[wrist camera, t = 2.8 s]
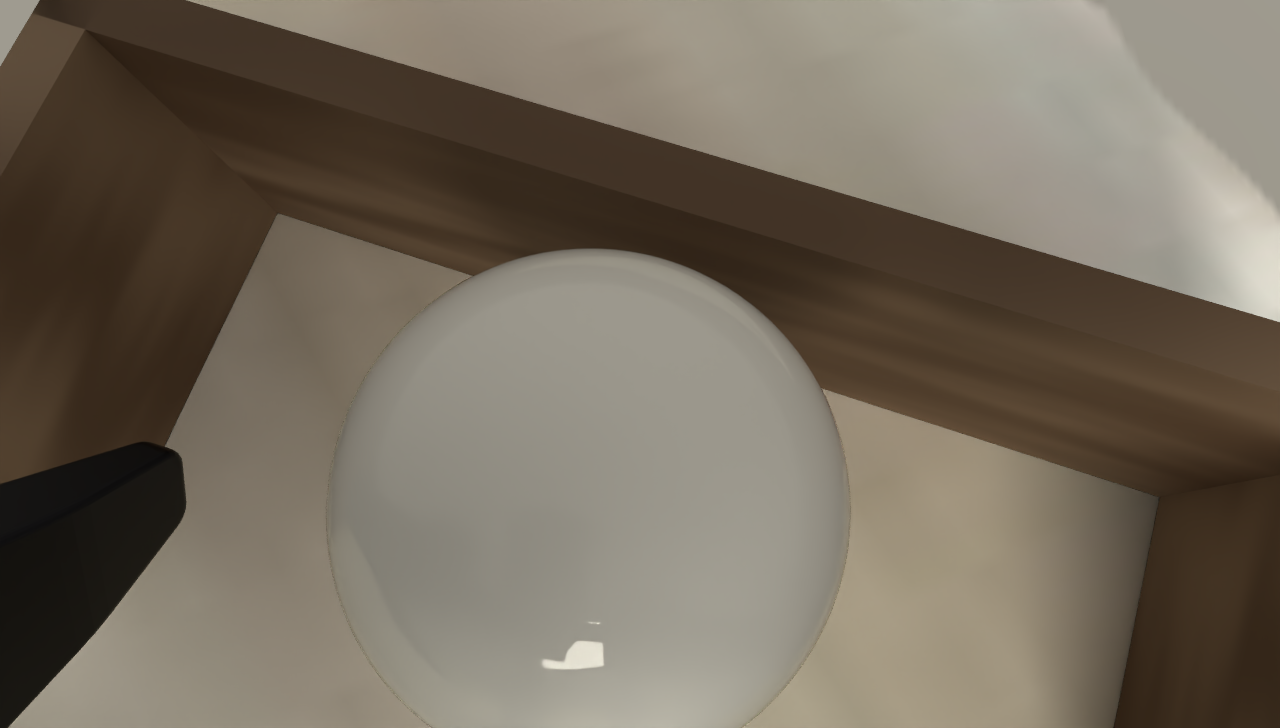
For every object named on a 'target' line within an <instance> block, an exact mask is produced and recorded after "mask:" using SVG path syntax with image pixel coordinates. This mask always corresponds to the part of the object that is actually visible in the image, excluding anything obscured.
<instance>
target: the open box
mask: <svg viewBox="0 0 1280 728" xmlns="http://www.w3.org/2000/svg"><path fill="white" fill-rule="evenodd" d="M277 213H280V214H283V215H286V216H289V217H292V218H296V219H299V220H302V221H305V222H308V223H311V224H314V225H317V226H320V227H323V228H327V229H330V230H333V231H336V232H339V233H342V234H345V235H348V236H351V237H354V238H358V239H361V240H364V241H367V242H370V243H373V244H376V245H379V246H382V247H385V248H389V249H392V250H395V251H398V252H401V253H404V254H407V255H410V256H413V257H416V258H420V259H423V260H426V261H429V262H432V263H435V264H438V265H441V266H444V267H448V268H451V269H454V270H457V271H460V272H463V273H466V274H469V275H472V276H474V275H477V274H479V273H481V272H483V271H485V270H487V269H490V268H492V267H494V266H497V265H500V264H502V263H505V262H508V261H511V260H515V259H518V258H521V257H525V256H529V255H533V254H538V253H543V252H549V251H556V250H565V249H578V248H603V249H616V250H625V251H632V252H638V253H643V254H647V255H652V256H656V257H659V258H663V259H666V260H669V261H673V262H676V263H678V264H681V265H684V266H686V267H689V268H691V269H693V270H696V271H698V272H700V273H702V274H704V275H706V276H708V277H710V278H712V279H714V280H716V281H718V282H720V283H721V284H723V285H725V286H726V287H728V288H730V289H731V290H733V291H734V292H736V293H737V294H739V295H740V296H741V297H743V298H744V299H746V300H747V301H748V302H750V303H751V304H752V305H753V306H755V307H756V308H757V309H758V310H759V311H761V312H762V313H763V314H764V315H765V316H766V317H767V318H768V319H769V320H770V321H772V322H773V323H774V324H775V325H776V326H777V327H778V329H779V330H780V331H781V332H782V333H783V334H784V335H785V336H786V337H787V338H788V340H789V341H790V342H791V343H792V344H793V346H794V347H795V348H796V350H797V351H798V352H799V353H800V355H801V356H802V358H803V359H804V361H805V362H806V363H807V365H808V367H809V368H810V370H811V371H812V373H813V375H814V376H815V378H816V380H817V382H818V383H819V385H820V387H821V388H823V389H826V390H829V391H832V392H835V393H838V394H841V395H845V396H848V397H851V398H854V399H857V400H860V401H863V402H866V403H869V404H872V405H876V406H879V407H882V408H885V409H888V410H891V411H894V412H897V413H900V414H903V415H907V416H910V417H913V418H916V419H919V420H922V421H925V422H928V423H931V424H935V425H938V426H941V427H944V428H947V429H950V430H953V431H956V432H959V433H962V434H966V435H969V436H972V437H975V438H978V439H981V440H984V441H987V442H990V443H993V444H997V445H1000V446H1003V447H1006V448H1009V449H1012V450H1015V451H1018V452H1021V453H1024V454H1028V455H1031V456H1034V457H1037V458H1040V459H1043V460H1046V461H1049V462H1052V463H1055V464H1059V465H1062V466H1065V467H1068V468H1071V469H1074V470H1077V471H1080V472H1083V473H1086V474H1090V475H1093V476H1096V477H1099V478H1102V479H1105V480H1108V481H1111V482H1114V483H1118V484H1121V485H1124V486H1127V487H1130V488H1133V489H1136V490H1139V491H1142V492H1145V493H1149V494H1152V495H1155V496H1158V497H1160V499H1159V504H1158V509H1157V514H1156V520H1155V525H1154V530H1153V535H1152V540H1151V545H1150V550H1149V555H1148V560H1147V565H1146V570H1145V575H1144V580H1143V585H1142V590H1141V595H1140V600H1139V605H1138V610H1137V615H1136V620H1135V625H1134V630H1133V635H1132V640H1131V645H1130V650H1129V655H1128V660H1127V665H1126V670H1125V675H1124V681H1123V686H1122V691H1121V696H1120V701H1119V706H1118V711H1117V716H1116V721H1115V726H1114V728H1280V322H1277V321H1273V320H1270V319H1267V318H1263V317H1260V316H1256V315H1253V314H1250V313H1246V312H1243V311H1239V310H1236V309H1233V308H1229V307H1226V306H1222V305H1219V304H1216V303H1212V302H1209V301H1205V300H1202V299H1199V298H1195V297H1192V296H1188V295H1185V294H1182V293H1178V292H1175V291H1172V290H1168V289H1165V288H1161V287H1158V286H1155V285H1151V284H1148V283H1144V282H1141V281H1138V280H1134V279H1131V278H1127V277H1124V276H1121V275H1117V274H1114V273H1110V272H1107V271H1104V270H1100V269H1097V268H1093V267H1090V266H1087V265H1083V264H1080V263H1076V262H1073V261H1070V260H1066V259H1063V258H1059V257H1056V256H1053V255H1049V254H1046V253H1042V252H1039V251H1036V250H1032V249H1029V248H1025V247H1022V246H1019V245H1015V244H1012V243H1008V242H1005V241H1002V240H998V239H995V238H991V237H988V236H985V235H981V234H978V233H974V232H971V231H968V230H964V229H961V228H957V227H954V226H951V225H947V224H944V223H940V222H937V221H934V220H930V219H927V218H923V217H920V216H917V215H913V214H910V213H906V212H903V211H900V210H896V209H893V208H889V207H886V206H883V205H879V204H876V203H872V202H869V201H866V200H862V199H859V198H856V197H852V196H849V195H845V194H842V193H839V192H835V191H832V190H828V189H825V188H822V187H818V186H815V185H811V184H808V183H805V182H801V181H798V180H794V179H791V178H788V177H784V176H781V175H777V174H774V173H771V172H767V171H764V170H760V169H757V168H754V167H750V166H747V165H743V164H740V163H737V162H733V161H730V160H726V159H723V158H720V157H716V156H713V155H709V154H706V153H703V152H699V151H696V150H692V149H689V148H686V147H682V146H679V145H675V144H672V143H669V142H665V141H662V140H658V139H655V138H652V137H648V136H645V135H641V134H638V133H635V132H631V131H628V130H624V129H621V128H618V127H614V126H611V125H607V124H604V123H601V122H597V121H594V120H590V119H587V118H584V117H580V116H577V115H573V114H570V113H567V112H563V111H560V110H556V109H553V108H550V107H546V106H543V105H540V104H536V103H533V102H529V101H526V100H523V99H519V98H516V97H512V96H509V95H506V94H502V93H499V92H495V91H492V90H489V89H485V88H482V87H478V86H475V85H472V84H468V83H465V82H461V81H458V80H455V79H451V78H448V77H444V76H441V75H438V74H434V73H431V72H427V71H424V70H421V69H417V68H414V67H410V66H407V65H404V64H400V63H397V62H393V61H390V60H387V59H383V58H380V57H376V56H373V55H370V54H366V53H363V52H359V51H356V50H353V49H349V48H346V47H342V46H339V45H336V44H332V43H329V42H325V41H322V40H319V39H315V38H312V37H308V36H305V35H302V34H298V33H295V32H291V31H288V30H285V29H281V28H278V27H274V26H271V25H268V24H264V23H261V22H257V21H254V20H251V19H247V18H244V17H240V16H237V15H234V14H230V13H227V12H224V11H220V10H217V9H213V8H210V7H207V6H203V5H200V4H196V3H193V2H190V1H186V0H40V1H39V3H38V4H37V6H36V8H35V9H34V11H33V13H32V14H31V16H30V18H29V19H28V21H27V23H26V24H25V26H24V28H23V29H22V31H21V33H20V34H19V36H18V38H17V39H16V41H15V43H14V44H13V46H12V48H11V50H10V51H9V53H8V55H7V56H6V58H5V60H4V61H3V63H2V65H1V66H0V484H2V483H5V482H8V481H11V480H15V479H18V478H21V477H25V476H28V475H31V474H34V473H38V472H41V471H44V470H48V469H51V468H54V467H57V466H61V465H64V464H67V463H71V462H74V461H77V460H80V459H84V458H87V457H90V456H94V455H97V454H100V453H103V452H107V451H110V450H113V449H117V448H120V447H123V446H127V445H130V444H133V443H137V442H142V441H147V442H152V443H155V444H158V445H161V446H164V445H165V443H166V441H167V439H168V437H169V435H170V433H171V431H172V429H173V427H174V425H175V423H176V421H177V419H178V416H179V414H180V412H181V410H182V408H183V406H184V404H185V402H186V400H187V398H188V396H189V394H190V392H191V390H192V388H193V386H194V383H195V381H196V379H197V377H198V375H199V373H200V371H201V369H202V367H203V365H204V363H205V361H206V359H207V357H208V355H209V353H210V350H211V348H212V346H213V344H214V342H215V340H216V338H217V336H218V334H219V332H220V330H221V328H222V326H223V324H224V322H225V320H226V318H227V315H228V313H229V311H230V309H231V307H232V305H233V303H234V301H235V299H236V297H237V295H238V293H239V291H240V289H241V287H242V285H243V282H244V280H245V278H246V276H247V274H248V272H249V270H250V268H251V266H252V264H253V262H254V260H255V258H256V256H257V254H258V252H259V249H260V247H261V245H262V243H263V241H264V239H265V237H266V235H267V233H268V231H269V229H270V227H271V225H272V223H273V221H274V219H275V216H276V214H277Z"/></svg>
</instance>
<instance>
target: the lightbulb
mask: <svg viewBox="0 0 1280 728" xmlns="http://www.w3.org/2000/svg"><path fill="white" fill-rule="evenodd" d="M850 519H851V504H850V486H849V478H848V470H847V464H846V458H845V454H844V449H843V445H842V441H841V437H840V434H839V431H838V427H837V424H836V421H835V419H834V416H833V414H832V411H831V408H830V406H829V404H828V401H827V399H826V397H825V395H824V393H823V391H822V389H821V387H820V385H819V383H818V382H817V380H816V378H815V376H814V375H813V373H812V371H811V370H810V368H809V367H808V365H807V363H806V362H805V361H804V359H803V358H802V356H801V355H800V353H799V352H798V351H797V350H796V348H795V347H794V346H793V344H792V343H791V342H790V341H789V340H788V338H787V337H786V336H785V335H784V334H783V333H782V332H781V331H780V330H779V329H778V327H777V326H776V325H775V324H774V323H773V322H772V321H770V320H769V319H768V318H767V317H766V316H765V315H764V314H763V313H762V312H761V311H759V310H758V309H757V308H756V307H755V306H753V305H752V304H751V303H750V302H748V301H747V300H746V299H744V298H743V297H741V296H740V295H739V294H737V293H736V292H734V291H733V290H731V289H730V288H728V287H726V286H725V285H723V284H721V283H720V282H718V281H716V280H714V279H712V278H710V277H708V276H706V275H704V274H702V273H700V272H698V271H696V270H693V269H691V268H689V267H686V266H684V265H681V264H678V263H676V262H673V261H669V260H666V259H663V258H659V257H656V256H652V255H647V254H643V253H638V252H632V251H625V250H616V249H603V248H578V249H565V250H556V251H549V252H543V253H538V254H533V255H529V256H525V257H521V258H518V259H515V260H511V261H508V262H505V263H502V264H500V265H497V266H494V267H492V268H490V269H487V270H485V271H483V272H481V273H479V274H477V275H474V276H472V277H471V278H469V279H467V280H465V281H463V282H461V283H460V284H458V285H456V286H455V287H453V288H451V289H450V290H448V291H447V292H445V293H444V294H442V295H441V296H439V297H438V298H436V299H435V300H434V301H432V302H431V303H430V304H429V305H427V306H426V307H425V308H424V309H422V310H421V311H420V312H419V313H418V314H417V315H416V316H414V317H413V318H412V319H411V320H410V321H409V322H408V323H407V324H406V325H405V326H404V327H403V328H402V329H401V330H400V331H399V332H398V333H397V334H396V336H395V337H394V338H393V339H392V340H391V341H390V342H389V344H388V345H387V346H386V347H385V349H384V350H383V351H382V353H381V354H380V355H379V357H378V358H377V359H376V361H375V362H374V364H373V365H372V367H371V368H370V370H369V371H368V373H367V375H366V376H365V378H364V379H363V381H362V383H361V385H360V387H359V388H358V390H357V392H356V394H355V396H354V398H353V400H352V402H351V405H350V407H349V409H348V411H347V414H346V416H345V419H344V421H343V424H342V427H341V430H340V433H339V436H338V439H337V443H336V446H335V450H334V454H333V459H332V463H331V469H330V474H329V482H328V490H327V503H326V531H327V544H328V553H329V559H330V565H331V571H332V575H333V580H334V584H335V587H336V591H337V594H338V597H339V600H340V603H341V606H342V609H343V612H344V614H345V617H346V619H347V621H348V624H349V626H350V628H351V630H352V633H353V635H354V637H355V639H356V641H357V642H358V644H359V646H360V648H361V649H362V651H363V653H364V654H365V656H366V658H367V659H368V661H369V663H370V664H371V665H372V667H373V668H374V670H375V671H376V673H377V674H378V675H379V677H380V678H381V679H382V680H383V682H384V683H385V684H386V685H387V686H388V688H389V689H390V690H391V691H392V692H393V693H394V694H395V696H396V697H397V698H398V699H399V700H400V701H401V702H402V703H403V704H404V705H405V706H406V707H407V708H408V709H410V710H411V711H412V712H413V713H414V714H415V715H416V716H417V717H419V718H420V719H421V720H422V721H423V722H425V723H426V724H427V725H429V726H430V727H431V728H743V727H744V726H745V725H747V724H748V723H749V722H750V721H752V720H753V719H754V718H755V717H756V716H758V715H759V714H760V713H761V712H762V711H763V710H764V709H765V708H766V707H767V706H769V705H770V703H771V702H772V701H773V700H774V699H775V698H776V697H777V696H778V695H779V694H780V693H781V692H782V691H783V690H784V688H785V687H786V686H787V685H788V684H789V682H790V681H791V680H792V679H793V677H794V676H795V675H796V673H797V672H798V671H799V669H800V668H801V667H802V665H803V664H804V662H805V661H806V659H807V657H808V656H809V654H810V653H811V651H812V649H813V648H814V646H815V644H816V642H817V641H818V639H819V637H820V635H821V633H822V631H823V629H824V627H825V625H826V622H827V620H828V618H829V616H830V613H831V611H832V608H833V606H834V603H835V600H836V597H837V594H838V591H839V588H840V584H841V581H842V577H843V573H844V568H845V564H846V558H847V553H848V545H849V536H850Z"/></svg>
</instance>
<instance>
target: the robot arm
mask: <svg viewBox="0 0 1280 728" xmlns="http://www.w3.org/2000/svg"><path fill="white" fill-rule="evenodd" d="M185 509H186V493H185V484H184V474H183V464H182V459H181V457H180V455H179V454H178V453H177V452H176V451H174V450H172V449H169V448H166V447H164V446H161V445H158V444H155V443H152V442H147V441H142V442H137V443H133V444H130V445H127V446H123V447H120V448H117V449H113V450H110V451H107V452H103V453H100V454H97V455H94V456H90V457H87V458H84V459H80V460H77V461H74V462H71V463H67V464H64V465H61V466H57V467H54V468H51V469H48V470H44V471H41V472H38V473H34V474H31V475H28V476H25V477H21V478H18V479H15V480H11V481H8V482H5V483H2V484H0V728H8V727H9V726H10V725H11V724H12V723H13V721H14V720H15V719H16V718H17V717H18V716H19V715H20V714H21V713H22V712H23V711H24V710H25V709H26V707H27V706H28V705H29V704H30V703H31V702H32V701H33V700H34V699H35V698H36V697H37V696H38V695H39V693H40V692H41V691H42V690H43V689H44V688H45V687H46V686H47V685H48V684H49V683H50V682H51V681H52V679H53V678H54V677H55V676H56V675H57V674H58V673H59V672H60V671H61V670H62V669H63V668H64V667H65V666H66V664H67V663H68V662H69V661H70V660H71V659H72V658H73V657H74V656H75V655H76V654H77V653H78V652H79V650H80V649H81V648H82V647H83V646H84V645H85V644H86V643H87V641H88V640H89V639H90V638H91V637H92V636H93V635H94V634H95V632H96V631H97V630H98V629H99V628H100V626H101V625H102V624H103V623H104V621H105V620H106V619H107V618H108V616H109V615H110V614H111V613H112V611H113V610H114V609H115V607H116V606H117V605H118V604H119V602H120V601H121V600H122V598H123V597H124V596H125V594H126V593H127V592H128V590H129V589H130V588H131V586H132V585H133V584H134V583H135V581H136V580H137V579H138V577H139V576H140V575H141V573H142V572H143V571H144V569H145V568H146V567H147V566H148V564H149V563H150V562H151V560H152V559H153V558H154V556H155V555H156V554H157V552H158V551H159V550H160V548H161V547H162V546H163V545H164V543H165V542H166V541H167V539H168V538H169V537H170V535H171V534H172V533H173V531H174V530H175V529H176V528H177V526H178V525H179V523H180V522H181V520H182V518H183V515H184V513H185Z"/></svg>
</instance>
